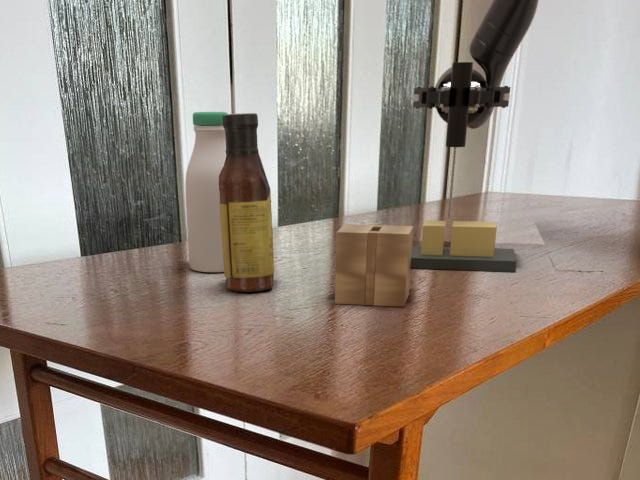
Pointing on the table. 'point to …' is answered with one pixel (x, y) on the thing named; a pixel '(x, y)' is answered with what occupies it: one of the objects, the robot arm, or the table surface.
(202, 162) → the milk bottle
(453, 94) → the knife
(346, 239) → the cardboard box
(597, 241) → the table surface
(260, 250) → the sauce bottle
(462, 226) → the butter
